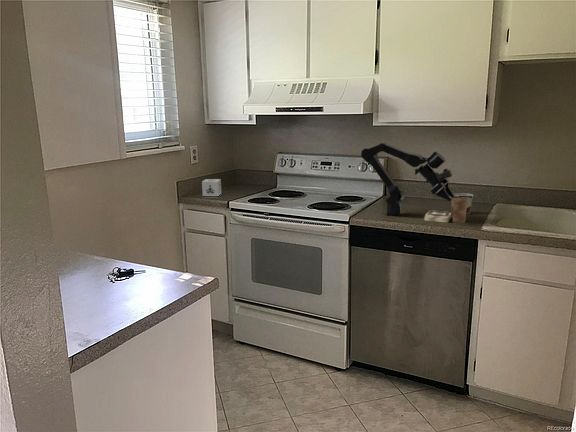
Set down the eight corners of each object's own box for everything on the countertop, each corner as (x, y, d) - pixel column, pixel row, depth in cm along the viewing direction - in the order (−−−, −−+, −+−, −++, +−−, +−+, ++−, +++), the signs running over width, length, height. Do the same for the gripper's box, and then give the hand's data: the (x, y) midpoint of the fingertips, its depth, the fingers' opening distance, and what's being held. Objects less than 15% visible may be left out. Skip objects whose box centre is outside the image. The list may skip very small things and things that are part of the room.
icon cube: (206, 194, 311) (205, 179, 308) (221, 194, 310) (220, 179, 308) (202, 197, 301) (201, 181, 299) (218, 197, 300) (217, 181, 298)
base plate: (424, 220, 233) (424, 213, 232) (428, 215, 242) (428, 209, 242) (447, 222, 228) (448, 215, 227) (451, 217, 238) (451, 211, 237)
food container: (467, 211, 252) (469, 192, 249) (472, 213, 246) (474, 194, 243) (445, 211, 251) (446, 193, 249) (449, 214, 245) (450, 195, 243)
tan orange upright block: (452, 221, 230) (453, 199, 227) (453, 219, 234) (455, 197, 232) (464, 222, 227) (465, 200, 225) (465, 220, 232) (467, 198, 230)
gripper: (439, 166, 221) (462, 191, 218) (445, 161, 237) (467, 184, 234) (421, 182, 226) (444, 206, 223) (428, 176, 242) (449, 199, 240)
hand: (451, 198), depth 230 cm, fingers open, 9 cm apart
